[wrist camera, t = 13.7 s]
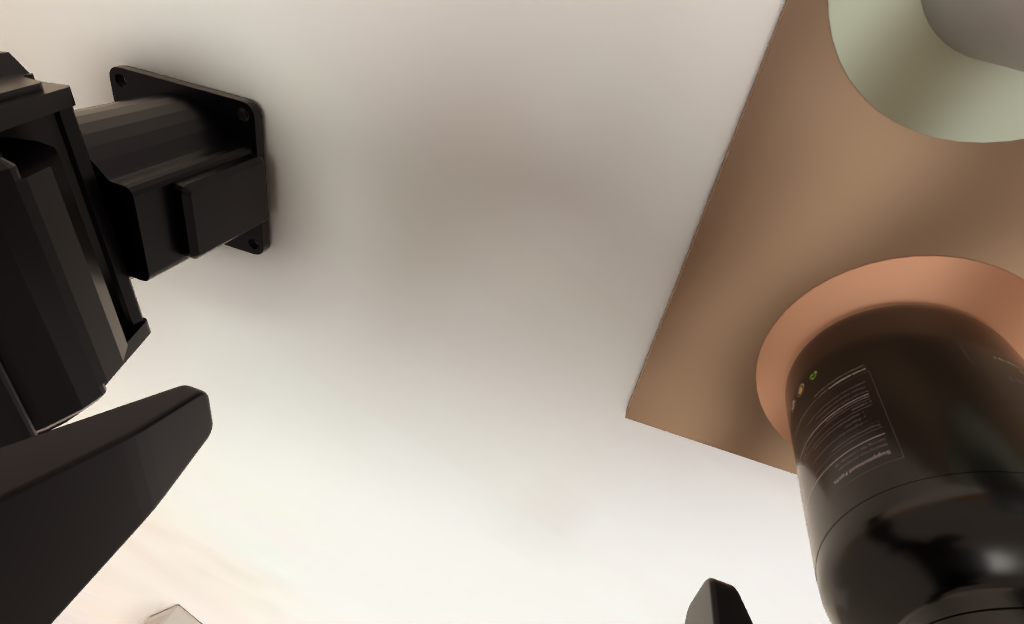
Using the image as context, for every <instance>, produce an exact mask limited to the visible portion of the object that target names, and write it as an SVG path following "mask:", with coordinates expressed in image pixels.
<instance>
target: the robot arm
mask: <svg viewBox="0 0 1024 624" xmlns="http://www.w3.org/2000/svg"><path fill="white" fill-rule="evenodd" d="M124 78H125V80H124ZM110 81H111V86H112V91H113V96H114V101H115V102H113V103H108V104H103V105H98V106H93V107H88V108H83V109H78V110H74V109H73V106H75V105H76V104H75V101H74V98H73V95H72V92H71V89H70V86H69V85H62V84H55V83H47V82H40V81H37V80H35V78H34V75H33V74H32V73H29V72H28V71H27V70H26V69H25V68H24V67H23V66H22V65H21V64H20V63H19V62H18V61H17V60H16V59H15V58H14V57H13V56H12V55H11V54H10V53H9V52H2V51H0V624H52V623H53V621H54V620H55V619H56V618H57V617H58V616H59V615H60V614H61V613H62V611H63V610H64V609H65V608H66V607H67V606H68V605H69V604H70V603H71V601H72V600H73V599H74V598H75V597H76V596H77V595H78V594H79V593H80V591H81V590H82V589H83V588H84V587H85V586H86V585H87V584H88V583H89V581H90V580H91V579H92V578H93V577H94V576H95V575H96V574H97V573H98V571H99V570H100V569H101V568H102V567H103V566H104V565H105V564H106V563H107V562H108V560H109V559H110V558H111V557H112V556H113V555H114V554H115V553H116V552H117V550H118V549H119V548H120V547H121V546H122V545H123V544H124V543H125V542H126V540H127V539H128V538H129V537H130V536H131V535H132V534H133V533H134V532H135V530H136V529H137V528H138V527H139V526H140V525H141V524H142V523H143V522H144V520H145V519H146V518H147V517H148V516H149V515H150V513H151V512H152V511H153V510H154V509H155V508H156V506H157V505H158V504H159V503H160V501H161V500H162V499H163V497H164V496H165V495H166V493H167V492H168V491H169V489H170V488H171V487H172V485H173V484H174V483H175V481H176V480H177V479H178V477H179V476H180V475H181V473H182V472H183V471H184V469H185V468H186V467H187V465H188V464H189V463H190V461H191V460H192V458H193V457H194V456H195V454H196V453H197V452H198V450H199V449H200V448H201V446H202V445H203V444H204V442H205V441H206V440H207V438H208V437H209V435H210V433H211V430H212V425H213V423H212V416H211V410H210V403H209V398H208V395H207V394H206V392H204V391H202V390H199V389H196V388H194V387H191V386H185V385H184V386H179V387H176V388H173V389H170V390H167V391H164V392H161V393H158V394H155V395H152V396H150V397H147V398H144V399H141V400H138V401H135V402H132V403H129V404H126V405H123V406H120V407H117V408H114V409H112V410H109V411H106V412H103V413H100V414H97V415H94V416H91V417H88V418H85V419H82V420H79V421H76V422H74V423H71V424H68V425H65V426H62V427H59V428H56V427H58V426H60V425H62V424H64V423H66V422H67V421H69V420H70V419H72V418H73V417H74V416H76V415H77V414H79V413H80V412H82V411H83V410H85V409H86V408H88V407H89V406H90V405H92V404H93V403H95V402H96V401H98V400H99V399H100V398H101V397H102V396H103V395H104V394H105V392H106V387H105V385H106V384H107V383H108V382H109V381H110V379H111V378H112V377H113V376H114V375H115V374H116V372H117V371H118V370H119V369H120V368H121V367H122V365H123V364H124V363H125V362H126V361H127V360H128V359H129V357H130V356H131V355H132V354H133V353H134V352H135V350H136V349H137V348H138V347H139V346H140V345H141V343H142V342H143V341H144V340H145V339H146V338H147V336H148V335H149V334H150V333H151V331H150V328H149V325H148V322H147V319H146V318H143V316H142V313H141V310H140V307H139V304H138V301H137V298H136V295H135V292H134V289H133V286H132V283H131V279H133V278H137V279H140V280H143V281H148V280H150V279H152V278H153V277H155V276H157V275H159V274H161V273H163V272H165V271H166V270H168V269H170V268H172V267H174V266H176V265H178V264H180V263H181V262H183V261H185V260H187V259H189V258H193V259H197V258H199V257H201V256H203V255H205V254H206V253H208V252H210V251H212V250H214V249H216V248H217V247H219V246H221V245H223V244H224V245H227V246H231V247H234V248H237V249H240V250H243V251H246V252H249V253H252V254H257V255H258V254H261V253H263V252H264V251H266V250H267V249H268V248H269V245H270V240H269V225H268V205H267V190H266V174H265V163H264V147H263V132H262V116H261V112H260V109H259V107H258V106H257V105H256V104H255V103H254V102H253V101H251V100H249V99H246V98H242V97H239V96H235V95H231V94H228V93H224V92H220V91H217V90H213V89H209V88H206V87H202V86H199V85H195V84H191V83H188V82H184V81H180V80H177V79H173V78H169V77H166V76H162V75H158V74H155V73H151V72H148V71H144V70H140V69H137V68H133V67H129V66H117V67H113V68H112V69H111V70H110ZM125 81H126V82H125ZM244 109H246V111H247V112H248V115H249V118H247V116H246V115H245V112H244ZM255 240H256V241H257V242H258V244H259V245H258V244H257V243H256V242H255ZM54 428H56V429H54ZM52 429H53V430H52ZM685 624H753V623H752V621H751V619H750V616H749V614H748V612H747V610H746V608H745V606H744V604H743V602H742V599H741V597H740V595H739V593H738V591H737V590H736V589H735V588H734V587H733V586H732V585H730V584H727V583H724V582H721V581H719V580H716V579H713V578H709V579H707V580H706V581H705V582H704V584H703V585H702V587H701V588H700V590H699V591H698V593H697V595H696V596H695V598H694V599H693V601H692V602H691V604H690V606H689V608H688V611H687V615H686V620H685Z"/></svg>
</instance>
